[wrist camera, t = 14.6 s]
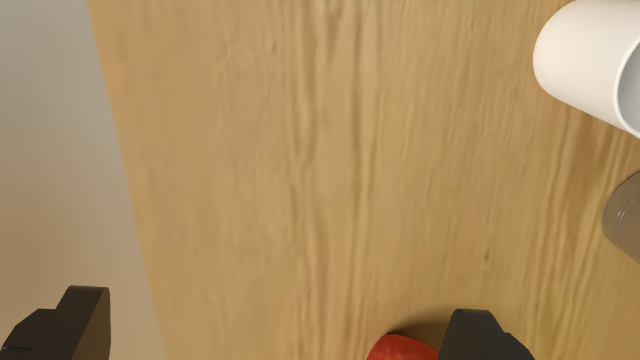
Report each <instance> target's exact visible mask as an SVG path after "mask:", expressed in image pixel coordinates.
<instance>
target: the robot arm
mask: <svg viewBox="0 0 640 360" xmlns="http://www.w3.org/2000/svg"><path fill="white" fill-rule="evenodd" d="M603 229H604V232H605V234H606V236H607V238H608V239H609V240H610V241H611V242H612V243H613V244H614V245H616V246H617V247H618V248H619V249H621V250H622V251H623V252H624V253H626V254H627V255H628V256H629V257H631V258H632V259H633V260H634V261H636V262H637V263H638V264H639V265H640V172H638V173H636V174H634V175H633V176H631V177H630V178H628V179H627V180H626V181H625V182H624V183H623V184H621V185H620V186H619V187H618V188H617V190H616V191H615V192H614V193H613V195H612V196H611V198H610V200H609V201H608V203H607V205H606V208H605V211H604V215H603ZM110 328H111V326H110V292H109V289H108V288H107V287H92V286H74V285H72V286H69V287H68V289H67V290H66V292H65V294H64V295H63V297H62V299H61V300H60V302H59V304H58V305H57V307H56V309H37V310H36V311H34V312H33V313H32V314H31V315H29V316H28V317H27V318H25V319H24V320H22V321H21V322H20V323H18V324H17V325H16V326H15V327H14V329H13V331H12V332H11V333H10V335H9V336H8V338H7V339H6V341H5V342H4V344H3V346H2V348H1V351H0V360H108V359H109V354H110V345H111V329H110ZM437 360H535V359H534V357H533V356H532V355H531V353H530V352H529V350H528V349H527V348H526V347H525V346H524V345H523V344H521V343H520V342H519V341H518V340H517V339H516V338H514V337H513V336H512V335H511V334H510V333H504V332H503V330H502V329H501V327H500V326H499V324H498V322H497V321H496V319H495V318H494V316H493V315H492V314H491V313H490V312H489V311H487V310H475V309H456V310H455V311H454V312H453V314H452V316H451V319H450V322H449V325H448V328H447V331H446V334H445V336H444V339H443V342H442V345H441V348H440V351H439V354H438V358H437Z"/></svg>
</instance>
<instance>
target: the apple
mask: <svg viewBox="0 0 640 360" xmlns="http://www.w3.org/2000/svg"><path fill="white" fill-rule="evenodd" d="M438 354H439V353H438V352H437V351H436V350H435V349H433V348H432V347H430V346H428V345H427V344H425V343H423V342H421V341H419V340H415V339H412V338H408V337H405V336H401V335H397V334H389V335H385V336H383V337H381V338H380V339H379V340H378V341H377V342H376V344H375V345H374V347H373V348H372V350H371V351H370V353H369V355H368V357H367V360H437V358H438Z"/></svg>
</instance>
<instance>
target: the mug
mask: <svg viewBox="0 0 640 360" xmlns="http://www.w3.org/2000/svg"><path fill="white" fill-rule="evenodd" d="M533 68H534V73H535V76H536V79H537V81H538V82H539V84H540V86H541V87H542V88H543V89H544V90H545V91H546V92H547V93H548V94H550V95H551V96H553V97H555V98H556V99H558V100H560V101H562V102H564V103H566V104H569V105H571V106H573V107H575V108H577V109H579V110H581V111H584V112H586V113H588V114H590V115H592V116H594V117H596V118H599V119H601V120H603V121H605V122H607V123H609V124H611V125H614V126H616V127H618V128H620V129H622V130H624V131H627V132H629V133H631V134H633V135H634V136H636V137H637V138H639V139H640V0H575V1H573V2H571V3H569V4H567V5H566V6H564V7H562V8H561V9H560V10H559V11H557V12H556V13H555V14H554V15H553V16H552V17H551V18H550V19H549V20H548V22H547V23H546V24H545V26H544V27H543V29H542V30H541V32H540V34H539V36H538V38H537V41H536V44H535V48H534V53H533Z"/></svg>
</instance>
